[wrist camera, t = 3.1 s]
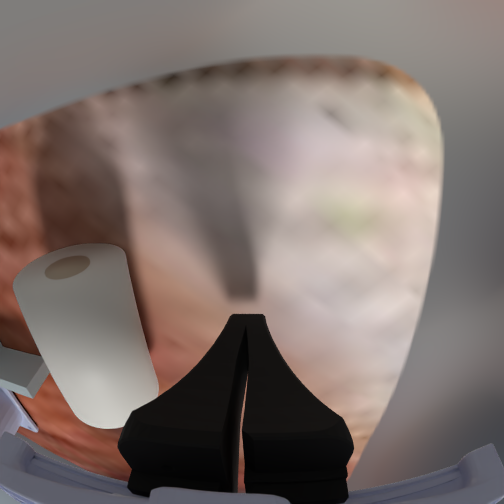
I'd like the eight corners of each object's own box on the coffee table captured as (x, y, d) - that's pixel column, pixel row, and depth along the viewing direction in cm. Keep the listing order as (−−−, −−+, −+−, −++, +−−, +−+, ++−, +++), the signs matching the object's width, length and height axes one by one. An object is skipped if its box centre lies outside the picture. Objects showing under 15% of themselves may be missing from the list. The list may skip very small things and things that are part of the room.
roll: (89, 354, 16) (55, 417, 11) (53, 243, 13) (-10, 295, 8) (167, 362, 16) (146, 437, 11) (142, 240, 13) (92, 303, 8)
